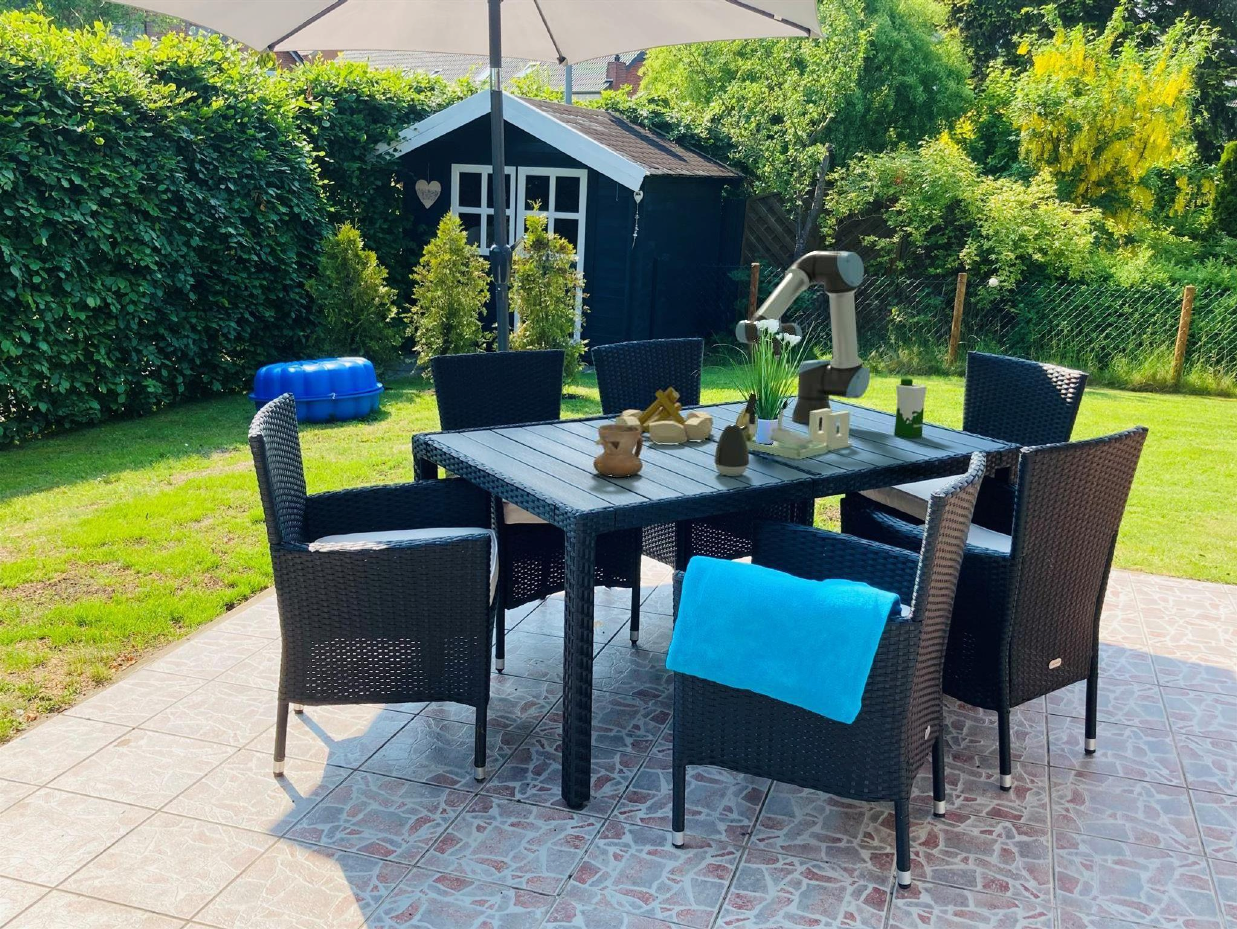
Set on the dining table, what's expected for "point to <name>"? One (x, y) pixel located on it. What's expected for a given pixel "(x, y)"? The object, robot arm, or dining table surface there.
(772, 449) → the tray
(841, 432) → the double loop bracket
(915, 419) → the milk carton
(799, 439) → the gold disc post
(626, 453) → the ceramic jug
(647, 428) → the campfire
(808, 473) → the dining table surface
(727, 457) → the pump dispenser
